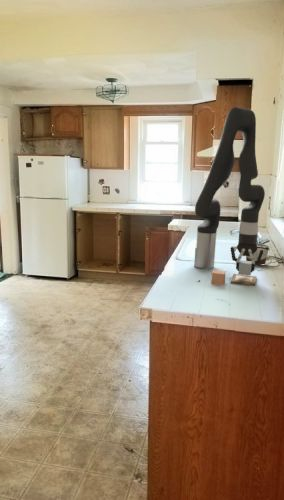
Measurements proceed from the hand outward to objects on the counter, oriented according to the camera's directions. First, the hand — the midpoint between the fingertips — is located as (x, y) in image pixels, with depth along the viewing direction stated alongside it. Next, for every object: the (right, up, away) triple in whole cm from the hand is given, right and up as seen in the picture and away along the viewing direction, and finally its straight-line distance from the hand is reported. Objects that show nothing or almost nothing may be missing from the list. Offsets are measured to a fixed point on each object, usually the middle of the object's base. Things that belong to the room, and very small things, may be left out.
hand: (245, 271), depth 162 cm
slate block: (0, -1, 0) cm, 1 cm away
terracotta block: (-12, -5, -3) cm, 14 cm away
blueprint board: (0, -4, +1) cm, 4 cm away
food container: (+14, +2, +33) cm, 36 cm away
